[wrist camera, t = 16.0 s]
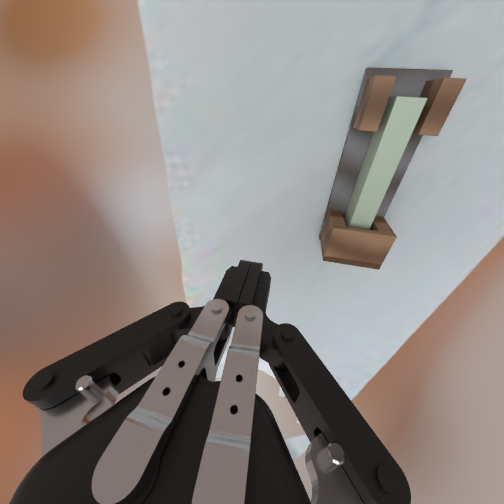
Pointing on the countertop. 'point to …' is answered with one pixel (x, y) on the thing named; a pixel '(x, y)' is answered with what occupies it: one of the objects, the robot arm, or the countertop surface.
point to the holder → (357, 142)
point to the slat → (382, 159)
